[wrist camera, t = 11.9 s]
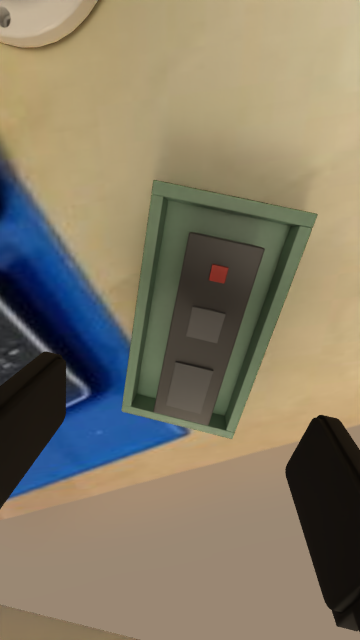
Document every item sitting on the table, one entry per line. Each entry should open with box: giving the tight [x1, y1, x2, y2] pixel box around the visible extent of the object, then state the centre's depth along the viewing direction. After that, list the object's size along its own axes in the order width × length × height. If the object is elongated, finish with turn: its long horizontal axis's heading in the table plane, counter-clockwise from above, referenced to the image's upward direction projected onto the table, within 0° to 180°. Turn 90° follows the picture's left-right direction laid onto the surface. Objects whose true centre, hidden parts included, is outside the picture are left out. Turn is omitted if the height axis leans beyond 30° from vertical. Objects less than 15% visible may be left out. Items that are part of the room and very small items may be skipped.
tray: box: [122, 180, 318, 439], centre depth 19 cm, size 19×10×2 cm, turn 169°
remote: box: [153, 232, 265, 426], centre depth 18 cm, size 14×5×4 cm, turn 169°
